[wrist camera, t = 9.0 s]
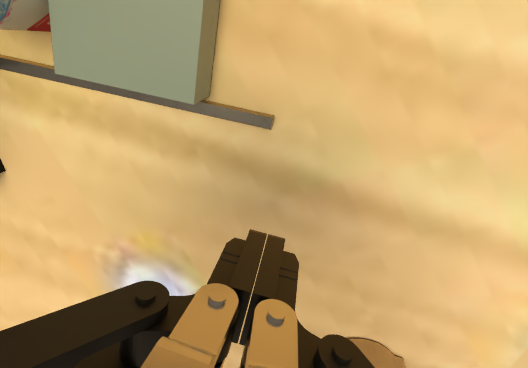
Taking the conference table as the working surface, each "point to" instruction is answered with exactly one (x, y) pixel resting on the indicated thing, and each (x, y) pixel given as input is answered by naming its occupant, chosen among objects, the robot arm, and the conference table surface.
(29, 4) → the ink box
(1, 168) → the digital camera
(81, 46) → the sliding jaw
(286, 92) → the conference table surface
